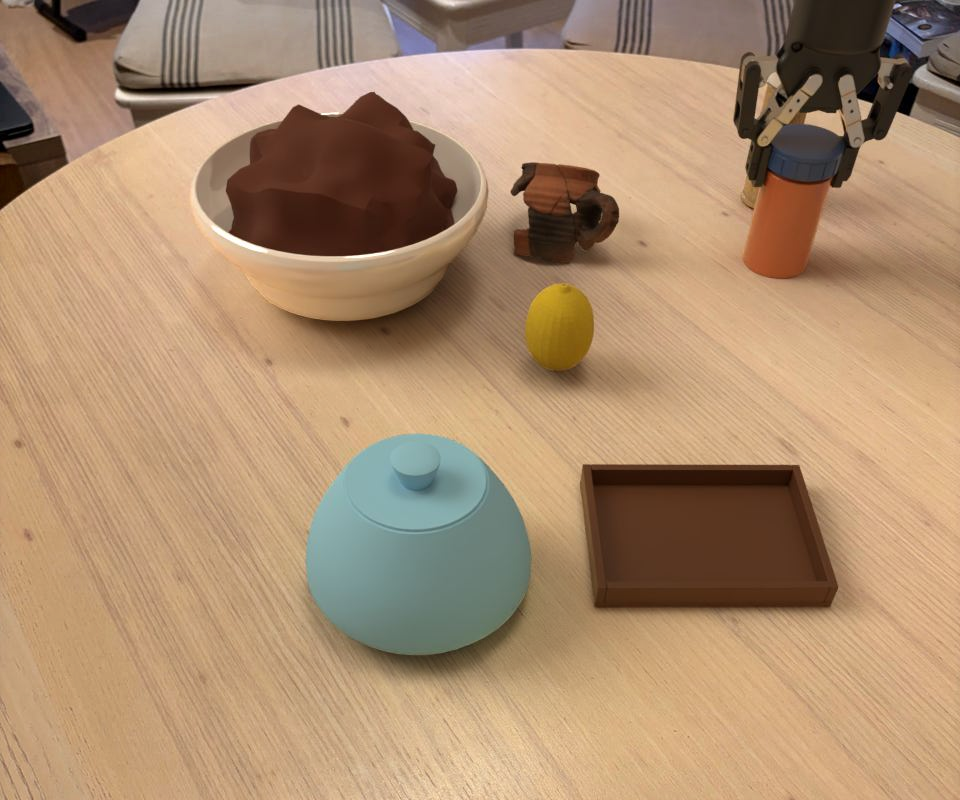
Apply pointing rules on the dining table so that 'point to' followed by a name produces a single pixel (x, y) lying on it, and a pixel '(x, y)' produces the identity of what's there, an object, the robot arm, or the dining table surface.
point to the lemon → (559, 327)
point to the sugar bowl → (417, 547)
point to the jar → (784, 225)
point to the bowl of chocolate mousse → (341, 208)
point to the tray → (703, 537)
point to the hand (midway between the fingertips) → (794, 182)
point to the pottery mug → (562, 211)
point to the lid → (806, 152)
